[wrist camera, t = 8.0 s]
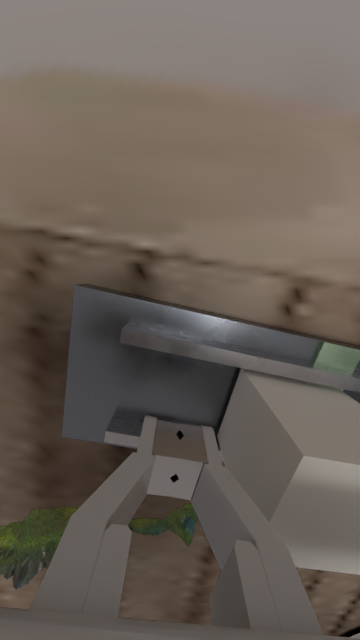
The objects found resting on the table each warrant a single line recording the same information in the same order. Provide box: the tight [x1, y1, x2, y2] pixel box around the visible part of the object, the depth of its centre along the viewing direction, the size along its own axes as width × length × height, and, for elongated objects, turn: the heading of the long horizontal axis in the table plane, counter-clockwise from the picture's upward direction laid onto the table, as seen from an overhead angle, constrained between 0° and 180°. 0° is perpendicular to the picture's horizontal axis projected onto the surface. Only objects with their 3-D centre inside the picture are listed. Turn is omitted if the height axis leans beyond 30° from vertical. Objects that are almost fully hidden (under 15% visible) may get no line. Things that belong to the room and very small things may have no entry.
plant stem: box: [0, 503, 198, 589], centre depth 14 cm, size 6×25×2 cm, turn 102°
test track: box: [62, 284, 360, 463], centre depth 8 cm, size 26×10×8 cm, turn 77°
